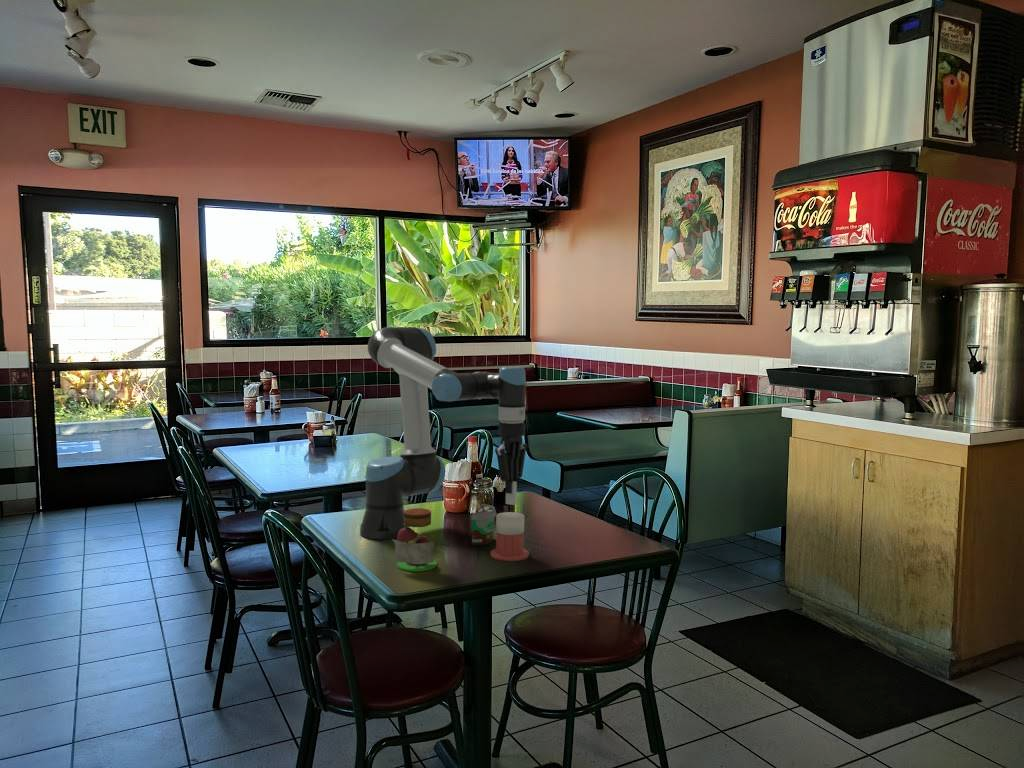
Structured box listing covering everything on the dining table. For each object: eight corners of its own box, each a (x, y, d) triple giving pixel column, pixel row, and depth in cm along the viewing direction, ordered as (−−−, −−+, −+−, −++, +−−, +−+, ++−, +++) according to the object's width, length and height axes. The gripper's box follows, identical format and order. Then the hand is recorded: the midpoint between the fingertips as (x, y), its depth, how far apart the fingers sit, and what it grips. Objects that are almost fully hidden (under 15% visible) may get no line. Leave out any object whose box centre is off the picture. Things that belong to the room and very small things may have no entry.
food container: (491, 547, 221) (491, 514, 220) (470, 546, 222) (471, 512, 222) (500, 536, 233) (500, 504, 233) (480, 534, 235) (481, 503, 234)
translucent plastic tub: (393, 559, 209) (393, 506, 208) (439, 558, 210) (439, 506, 209) (389, 573, 197) (389, 517, 196) (437, 572, 198) (438, 517, 197)
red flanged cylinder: (482, 556, 213) (483, 532, 212) (505, 547, 222) (505, 524, 221) (514, 563, 206) (514, 538, 206) (536, 554, 215) (536, 530, 215)
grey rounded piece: (490, 540, 213) (490, 516, 212) (506, 534, 219) (507, 510, 219) (513, 545, 208) (513, 520, 208) (529, 539, 215) (529, 515, 214)
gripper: (509, 424, 204) (508, 510, 205) (535, 420, 214) (534, 501, 216) (487, 422, 208) (486, 506, 210) (514, 418, 219) (513, 498, 220)
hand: (511, 503), depth 213 cm, fingers closed
